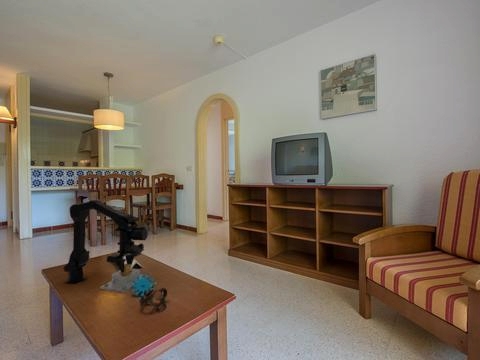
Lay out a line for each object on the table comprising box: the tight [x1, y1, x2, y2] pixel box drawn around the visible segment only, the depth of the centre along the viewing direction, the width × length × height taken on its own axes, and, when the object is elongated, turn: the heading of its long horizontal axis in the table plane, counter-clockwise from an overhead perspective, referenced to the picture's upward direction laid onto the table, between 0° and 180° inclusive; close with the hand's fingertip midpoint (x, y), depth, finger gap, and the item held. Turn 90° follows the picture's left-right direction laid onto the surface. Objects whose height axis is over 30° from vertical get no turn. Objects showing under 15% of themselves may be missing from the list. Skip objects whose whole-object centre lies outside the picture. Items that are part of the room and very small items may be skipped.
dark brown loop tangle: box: [138, 287, 168, 313], centre depth 100 cm, size 12×10×8 cm
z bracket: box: [124, 257, 145, 269], centre depth 147 cm, size 12×25×6 cm
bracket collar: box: [99, 268, 148, 294], centre depth 122 cm, size 14×18×6 cm
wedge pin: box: [121, 264, 132, 274], centre depth 121 cm, size 3×3×8 cm
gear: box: [131, 273, 157, 298], centre depth 112 cm, size 11×6×10 cm
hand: (125, 270), depth 121 cm, fingers open, 4 cm apart
